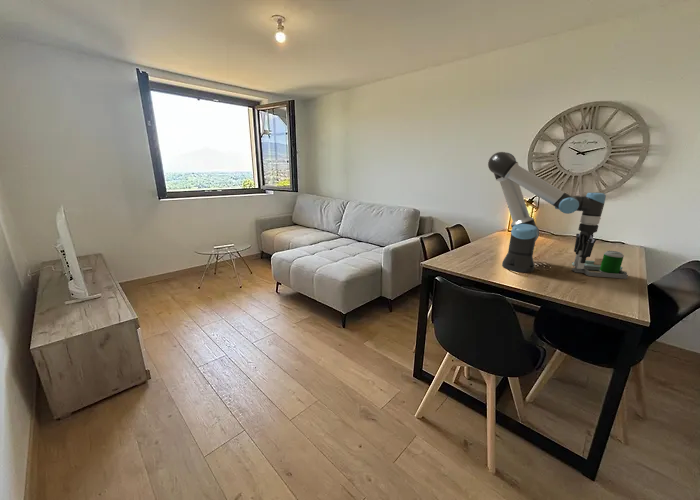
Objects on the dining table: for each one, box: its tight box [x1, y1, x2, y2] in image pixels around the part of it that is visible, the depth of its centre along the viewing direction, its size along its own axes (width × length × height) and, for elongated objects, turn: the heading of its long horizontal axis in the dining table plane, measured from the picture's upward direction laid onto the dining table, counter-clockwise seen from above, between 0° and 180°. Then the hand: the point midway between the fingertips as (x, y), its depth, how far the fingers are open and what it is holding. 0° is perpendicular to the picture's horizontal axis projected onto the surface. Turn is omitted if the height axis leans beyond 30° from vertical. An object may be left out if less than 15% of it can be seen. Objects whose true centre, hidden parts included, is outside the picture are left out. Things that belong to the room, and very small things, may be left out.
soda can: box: [599, 250, 624, 274], centre depth 149 cm, size 8×8×12 cm
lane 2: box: [571, 251, 629, 280], centre depth 150 cm, size 21×12×11 cm, turn 78°
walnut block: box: [593, 258, 603, 265], centre depth 160 cm, size 4×4×4 cm
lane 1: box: [571, 259, 623, 271], centre depth 160 cm, size 21×9×11 cm, turn 78°
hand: (578, 267), depth 153 cm, fingers closed on lane 2, 3 cm apart
